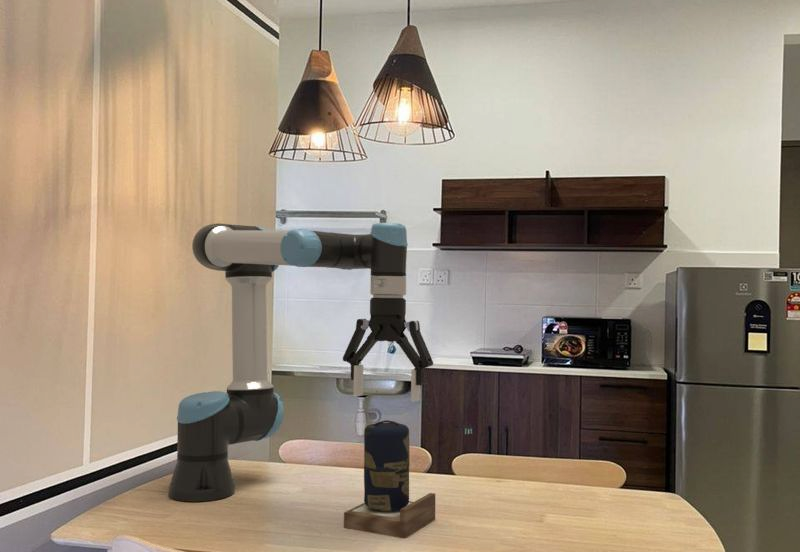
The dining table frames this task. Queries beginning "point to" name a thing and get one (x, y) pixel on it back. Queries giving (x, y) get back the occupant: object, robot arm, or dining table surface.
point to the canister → (386, 466)
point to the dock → (392, 518)
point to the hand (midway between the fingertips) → (386, 398)
